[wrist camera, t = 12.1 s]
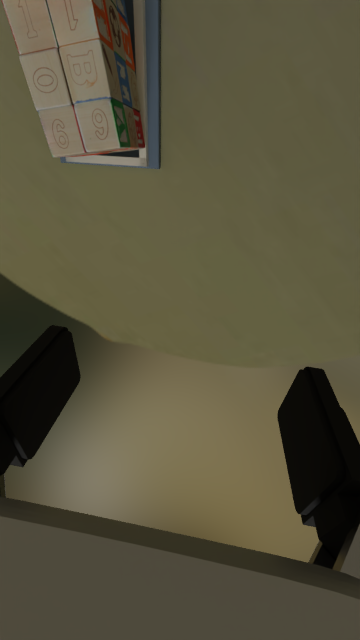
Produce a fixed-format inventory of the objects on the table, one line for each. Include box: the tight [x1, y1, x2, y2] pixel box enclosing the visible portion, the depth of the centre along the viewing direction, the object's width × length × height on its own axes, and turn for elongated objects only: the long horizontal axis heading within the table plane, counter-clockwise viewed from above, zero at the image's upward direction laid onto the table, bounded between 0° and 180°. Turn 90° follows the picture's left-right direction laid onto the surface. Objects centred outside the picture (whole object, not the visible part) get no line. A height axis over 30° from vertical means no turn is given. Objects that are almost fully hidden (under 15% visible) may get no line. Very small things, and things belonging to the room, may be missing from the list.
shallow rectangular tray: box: [60, 0, 160, 169], centre depth 23 cm, size 12×25×2 cm, turn 178°
